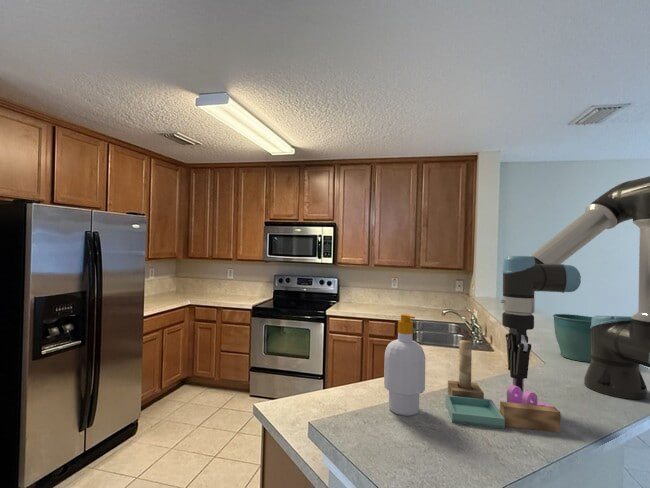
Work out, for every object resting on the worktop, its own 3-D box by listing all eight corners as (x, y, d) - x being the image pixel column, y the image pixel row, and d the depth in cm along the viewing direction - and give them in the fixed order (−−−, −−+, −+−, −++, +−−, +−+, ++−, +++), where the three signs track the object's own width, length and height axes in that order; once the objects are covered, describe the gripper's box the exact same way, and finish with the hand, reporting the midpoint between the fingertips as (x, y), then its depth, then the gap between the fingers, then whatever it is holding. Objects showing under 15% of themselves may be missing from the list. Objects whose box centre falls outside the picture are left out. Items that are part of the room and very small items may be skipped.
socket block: (476, 395, 101) (476, 383, 101) (483, 406, 93) (483, 393, 93) (447, 392, 103) (447, 380, 103) (452, 403, 95) (452, 390, 95)
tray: (491, 408, 92) (491, 399, 92) (504, 428, 81) (504, 419, 81) (445, 403, 95) (445, 394, 95) (452, 422, 83) (452, 413, 83)
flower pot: (603, 357, 148) (603, 317, 149) (609, 367, 133) (609, 322, 134) (552, 350, 158) (552, 312, 159) (553, 359, 143) (553, 317, 144)
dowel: (469, 397, 99) (470, 340, 100) (472, 402, 96) (472, 343, 97) (457, 396, 100) (458, 339, 100) (459, 400, 97) (460, 342, 97)
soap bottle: (401, 422, 82) (403, 319, 84) (375, 405, 92) (377, 312, 93) (433, 414, 87) (435, 317, 88) (405, 399, 96) (407, 311, 97)
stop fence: (554, 426, 83) (554, 406, 83) (560, 432, 80) (560, 412, 80) (500, 420, 85) (500, 401, 86) (503, 425, 82) (503, 406, 83)
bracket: (526, 422, 85) (527, 393, 85) (506, 413, 90) (507, 385, 90) (561, 414, 90) (561, 387, 90) (540, 406, 95) (540, 380, 95)
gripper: (496, 308, 102) (495, 391, 101) (510, 315, 89) (509, 410, 88) (524, 310, 100) (523, 394, 99) (543, 317, 87) (542, 413, 86)
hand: (516, 401), depth 93 cm, fingers closed
